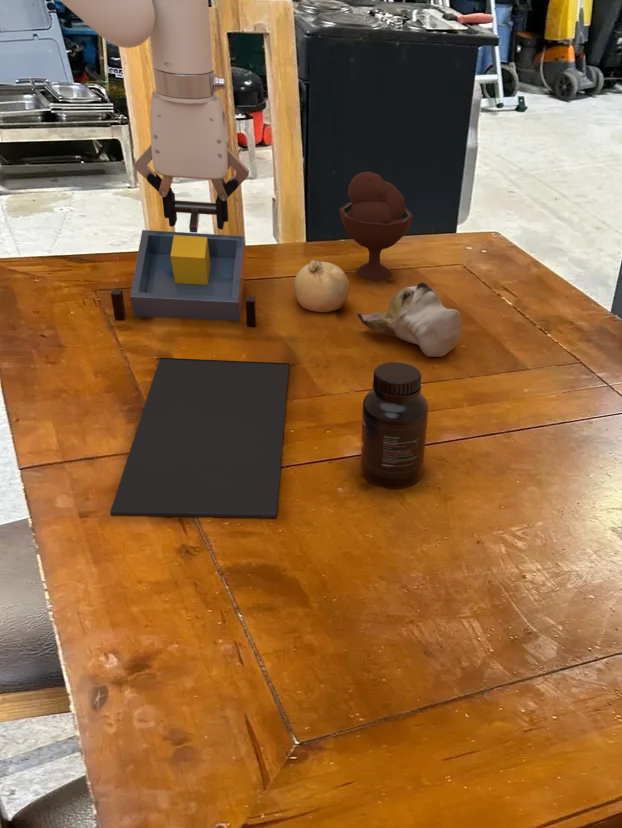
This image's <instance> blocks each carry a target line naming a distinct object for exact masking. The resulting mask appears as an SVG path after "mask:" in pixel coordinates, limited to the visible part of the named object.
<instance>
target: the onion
mask: <svg viewBox="0 0 622 828" xmlns="http://www.w3.org/2000/svg"><path fill="white" fill-rule="evenodd" d="M293 280H294V281H293V292H294V296H295V298H296V301H297V302H298V304H299V305H300V307H301V308H303V309H306V310H307V311H310V312H315V313H316V312H317V313H330V312H333V311H338V310H341V309H342V307H343V306H344V305H345V303H346V302H347V299H348V298H349V294H350V293H351V292H350V291H351V285H350V281H349V278H348V276H347V275H346V273H345V271H344V270H343V269H342V268H340V267H339V266H337V264H334V263H331V262H327V261H320V260H314V259H311V260H310V262H308V264H307V263H306V264H305V265H304V266H303V267H302V268H300V270H299V271H298V272H297V274H296V275H295V277H294V279H293Z"/></svg>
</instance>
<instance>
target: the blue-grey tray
mask: <svg viewBox="0 0 622 828" xmlns="http://www.w3.org/2000/svg"><path fill="white" fill-rule="evenodd" d="M174 211H175V212H176V213H177V214H178V213H179V214H190V218H189V226H188V229H189V232H183V231H182V232H181V231H167V230H166V231H165V230H153V229H152V230H151V229H149V230H147V229H142V231H141V234H140V239H139V245H138V250H137V256H136V261H135V267H134V272H133V278H132V284H131V289H130V295H129V298H130V302H131V303H130V304H131V307H132V312H133V316H135V317H148V318H150V317H151V318H169V319H190V320H191V319H192V320H207V321H210V320H211V321H212V320H213V321H231V322H232V321H233V322H241V320H242V309H243V299H244V286H245V273H246V264H247V263H246V262H247V253H246V243H245V241H246V239H245V236H244V235H233V234H231V235H230V234H216V233H215V234H213V233H199V232H198V230H199V221H200V215H209V216H210V215H211V216H217V214H216V202H208V201H207V202H206V201H194V200H178V199H175V200H174ZM174 235H182V236H198V237H207V239H208V247H209V255H210V263H211V266H210V275H209V283H208V285H197V284H179V283H175V279H174V273H173V267H172V261H171V250H172V243H173V237H174Z"/></svg>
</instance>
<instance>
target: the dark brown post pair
mask: <svg viewBox="0 0 622 828" xmlns="http://www.w3.org/2000/svg"><path fill="white" fill-rule="evenodd" d="M110 298H111V303H112V310H113V316H114V321H119V322H124V321H125V320H126V317H127V313H126V306H125V299H124V292H123V289H119V288H113V289H112V290H111V293H110ZM245 316H246V318H245V319H246V327H247V328H256V327H257V322H258V321H257V303H256V296H254V295H253V296H250V295H246V296H245Z"/></svg>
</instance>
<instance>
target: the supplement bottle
mask: <svg viewBox="0 0 622 828" xmlns="http://www.w3.org/2000/svg"><path fill="white" fill-rule="evenodd" d="M421 392H422V373H421V371H420V370H419V368H417V367H416V366H414V365H412V364H409V363H406V362H402V361H401V362H400V361H398V362H397V361H388V362H383V363H381V364H379V365H376V367H375V368H374V370H373V380H372V388H371V390H369V391H368V392H367V394H366V395H365V396H364V397H363V400H362V407H361V411H362V412H361V435H360V436H361V440H360V442H361V444H360V472H361V473H362V476H363V477H364V478H365V479H366V480H367V481H369V482H370V483H371V484H373V485H375V486H378V487H381V488H385V489H402V488H407V487H409V486H412V485H414V484H415V483H417V482H418V481H419V480H420V478H421V477H422V475H423V471H424V461H425V451H426V439H427V438H426V437H427V430H428V429H427V427H428V418H429V403H428V401H427V400H426V397H425V396H424V395H423V394H422V393H421Z"/></svg>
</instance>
